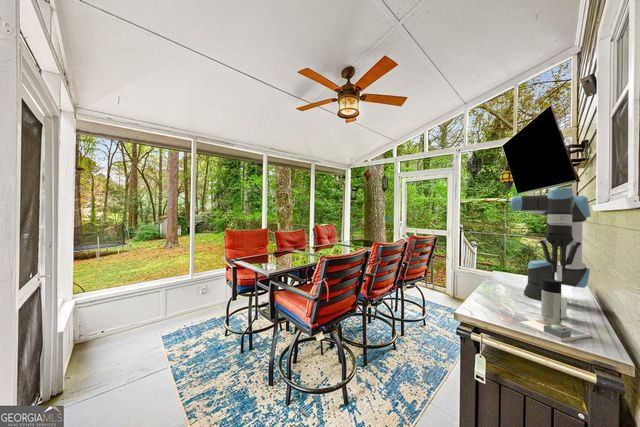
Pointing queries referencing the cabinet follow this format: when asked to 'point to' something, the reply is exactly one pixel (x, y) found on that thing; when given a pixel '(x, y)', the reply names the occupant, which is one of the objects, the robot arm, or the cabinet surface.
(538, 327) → the picture board
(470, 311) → the cabinet surface
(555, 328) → the button
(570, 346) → the cabinet surface
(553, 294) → the spray can
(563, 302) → the mug
